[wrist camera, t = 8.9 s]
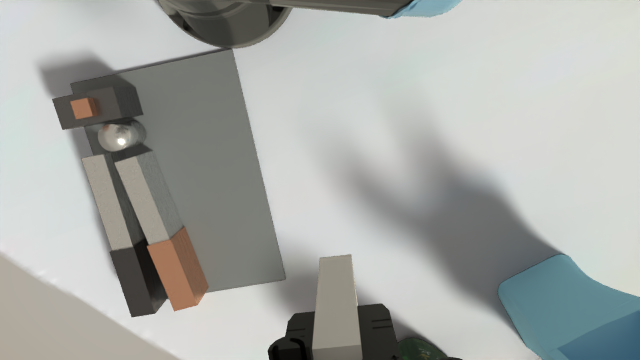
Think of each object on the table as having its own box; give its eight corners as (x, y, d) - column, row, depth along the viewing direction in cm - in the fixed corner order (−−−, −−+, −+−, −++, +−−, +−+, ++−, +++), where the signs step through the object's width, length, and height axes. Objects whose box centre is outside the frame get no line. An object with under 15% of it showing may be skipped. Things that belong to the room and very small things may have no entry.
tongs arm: (118, 125, 44) (93, 129, 39) (141, 117, 44) (118, 120, 39) (187, 292, 48) (172, 314, 44) (208, 287, 48) (195, 307, 44)
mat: (72, 83, 44) (70, 83, 43) (232, 49, 42) (231, 49, 42) (143, 301, 50) (141, 303, 49) (285, 278, 48) (285, 279, 48)
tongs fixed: (81, 98, 44) (45, 99, 38) (135, 86, 43) (107, 86, 38) (146, 299, 49) (122, 324, 44) (195, 290, 48) (177, 315, 43)
